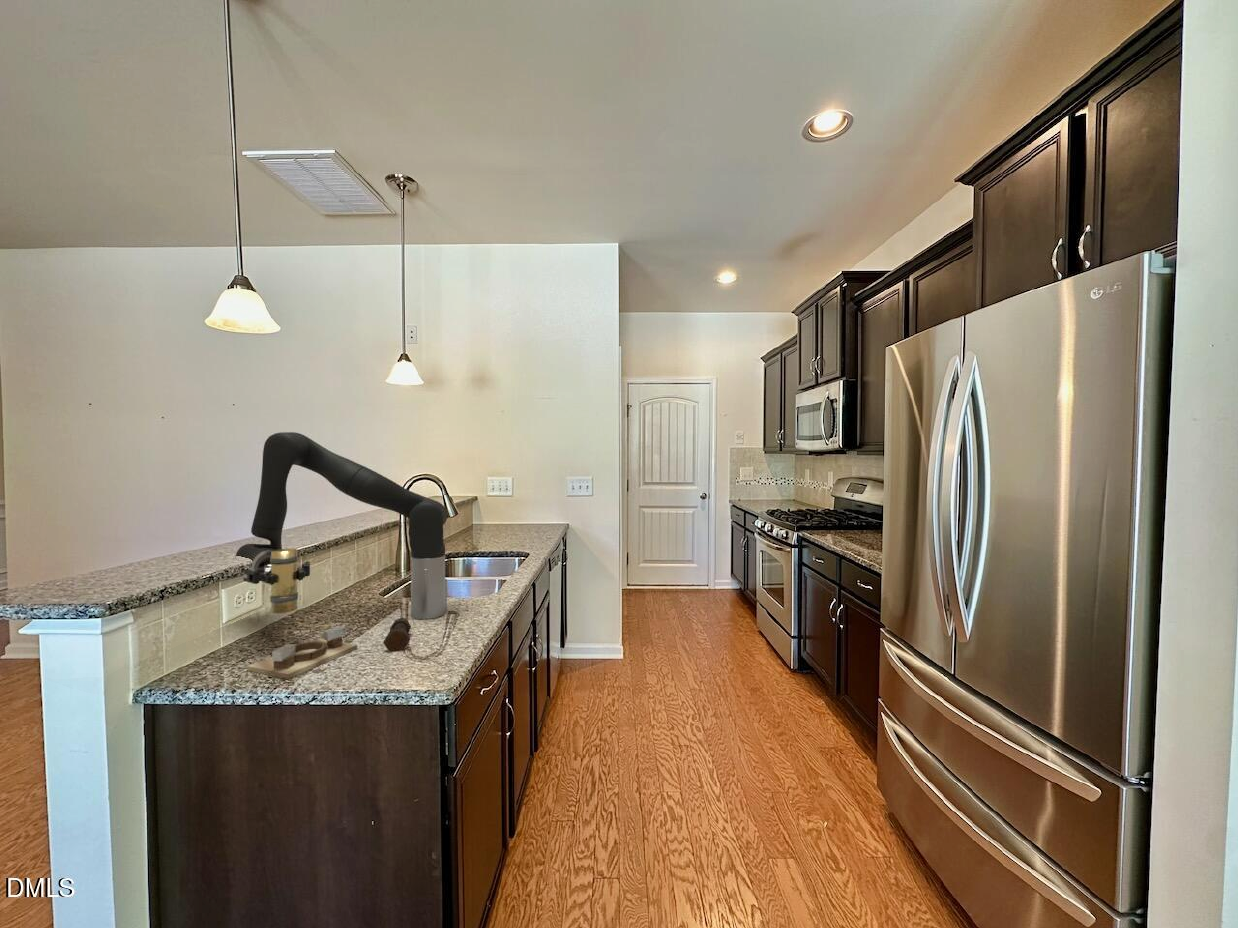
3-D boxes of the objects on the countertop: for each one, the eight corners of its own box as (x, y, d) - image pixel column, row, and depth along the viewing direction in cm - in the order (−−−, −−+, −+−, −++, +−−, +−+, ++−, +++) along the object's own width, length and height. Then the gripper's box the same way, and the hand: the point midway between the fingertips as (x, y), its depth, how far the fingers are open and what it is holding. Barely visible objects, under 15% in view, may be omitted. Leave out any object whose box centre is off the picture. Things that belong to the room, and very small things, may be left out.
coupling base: (320, 642, 119) (320, 630, 119) (357, 648, 115) (357, 636, 115) (247, 670, 103) (247, 656, 103) (287, 679, 99) (287, 664, 99)
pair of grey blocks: (338, 633, 117) (338, 625, 117) (347, 635, 116) (347, 626, 116) (268, 660, 101) (268, 650, 101) (278, 662, 100) (278, 652, 100)
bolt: (404, 637, 128) (400, 657, 114) (386, 629, 127) (379, 648, 112) (416, 616, 129) (413, 634, 115) (399, 609, 128) (393, 625, 114)
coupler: (287, 605, 117) (287, 547, 117) (303, 607, 115) (303, 549, 115) (264, 611, 112) (264, 551, 112) (281, 614, 110) (280, 553, 110)
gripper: (236, 555, 118) (248, 566, 106) (304, 547, 128) (322, 557, 116) (236, 585, 118) (248, 600, 106) (304, 575, 128) (322, 588, 116)
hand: (287, 577), depth 111 cm, fingers closed on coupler, 5 cm apart
